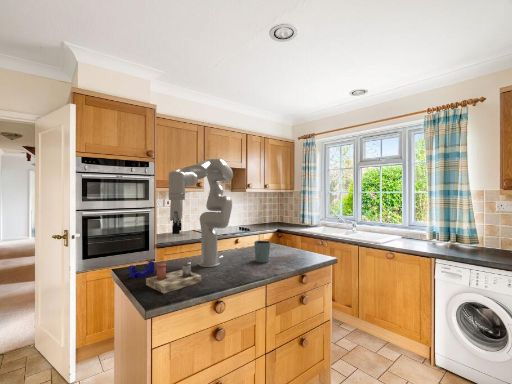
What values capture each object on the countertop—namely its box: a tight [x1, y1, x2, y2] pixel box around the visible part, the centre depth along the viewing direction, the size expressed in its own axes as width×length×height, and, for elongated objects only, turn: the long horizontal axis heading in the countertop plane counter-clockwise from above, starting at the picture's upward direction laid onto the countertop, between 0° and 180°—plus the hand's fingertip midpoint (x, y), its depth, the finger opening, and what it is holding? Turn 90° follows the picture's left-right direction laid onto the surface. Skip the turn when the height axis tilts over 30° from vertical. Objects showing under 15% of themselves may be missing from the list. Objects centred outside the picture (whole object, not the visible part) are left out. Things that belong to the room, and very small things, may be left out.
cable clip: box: [128, 261, 155, 280], centre depth 142 cm, size 12×4×6 cm, turn 141°
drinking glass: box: [253, 240, 271, 264], centre depth 171 cm, size 10×10×12 cm
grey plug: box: [181, 260, 193, 277], centre depth 131 cm, size 5×5×6 cm
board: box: [145, 269, 202, 294], centre depth 130 cm, size 20×16×3 cm
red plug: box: [155, 262, 167, 279], centre depth 128 cm, size 5×5×6 cm
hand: (177, 232), depth 131 cm, fingers open, 9 cm apart
